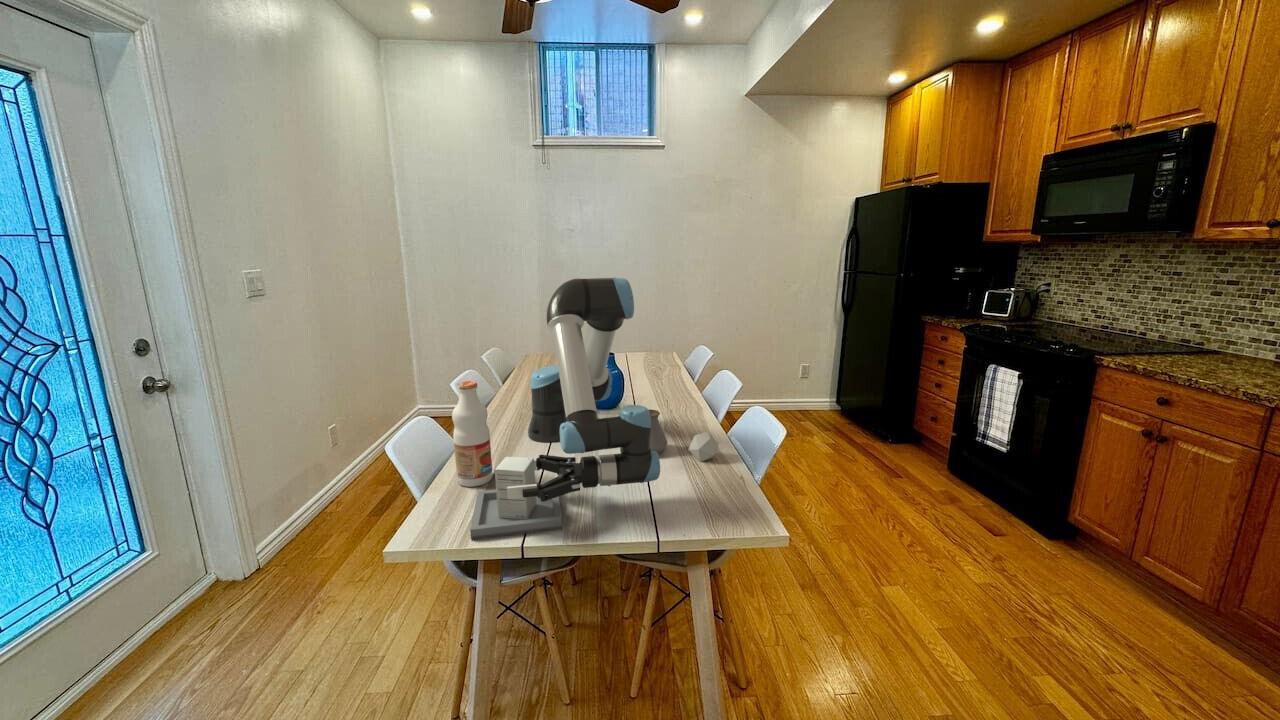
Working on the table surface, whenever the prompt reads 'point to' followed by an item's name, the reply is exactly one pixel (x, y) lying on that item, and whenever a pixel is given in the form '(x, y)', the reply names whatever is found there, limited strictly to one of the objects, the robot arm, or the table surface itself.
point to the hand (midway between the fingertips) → (508, 479)
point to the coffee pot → (656, 433)
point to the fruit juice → (471, 438)
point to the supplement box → (514, 474)
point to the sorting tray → (491, 525)
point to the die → (703, 446)
